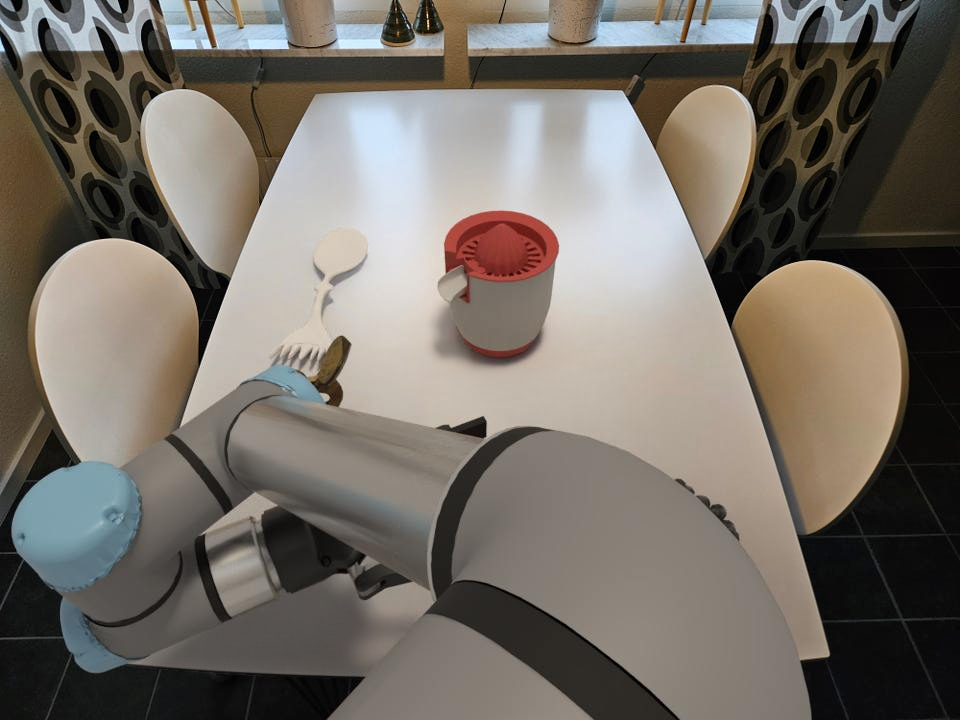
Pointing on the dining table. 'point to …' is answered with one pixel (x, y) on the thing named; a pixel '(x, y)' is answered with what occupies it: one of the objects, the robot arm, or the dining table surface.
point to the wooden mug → (331, 371)
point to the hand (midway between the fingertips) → (505, 460)
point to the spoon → (324, 291)
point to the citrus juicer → (499, 280)
